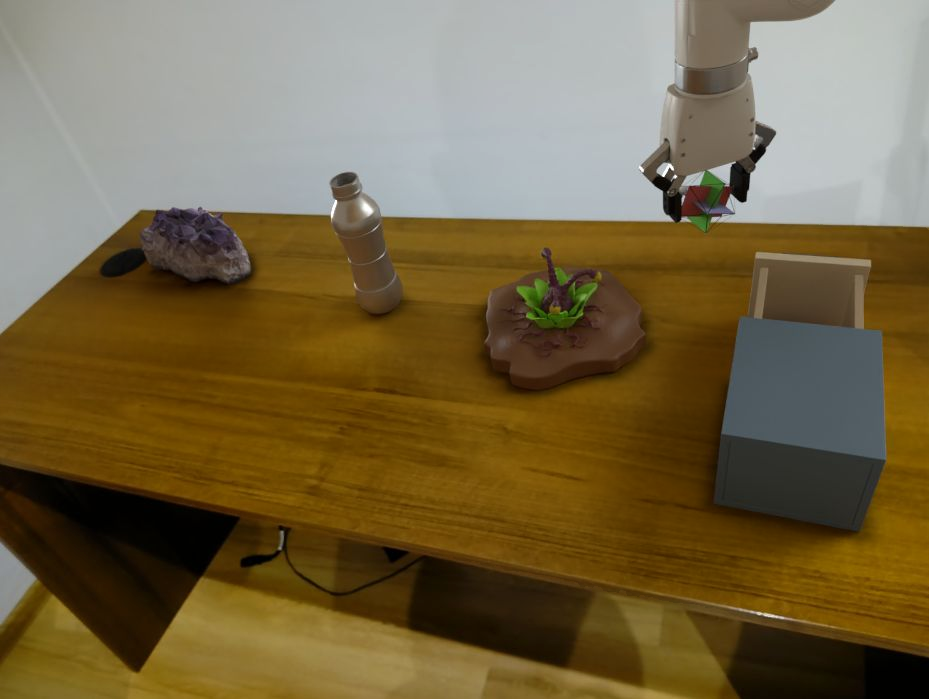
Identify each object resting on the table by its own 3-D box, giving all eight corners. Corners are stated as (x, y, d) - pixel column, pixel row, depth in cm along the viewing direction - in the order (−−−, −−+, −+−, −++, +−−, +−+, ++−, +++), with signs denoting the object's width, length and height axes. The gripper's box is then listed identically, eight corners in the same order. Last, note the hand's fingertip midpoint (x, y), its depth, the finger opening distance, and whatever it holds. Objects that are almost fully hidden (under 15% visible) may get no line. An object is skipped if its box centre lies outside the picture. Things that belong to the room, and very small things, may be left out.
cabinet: (731, 388, 79) (739, 316, 72) (859, 405, 75) (881, 330, 68) (713, 503, 69) (721, 433, 62) (860, 532, 65) (886, 460, 58)
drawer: (751, 288, 89) (759, 230, 83) (854, 298, 85) (870, 236, 79) (735, 398, 77) (743, 338, 71) (854, 415, 73) (873, 353, 67)
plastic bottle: (352, 315, 101) (306, 191, 87) (377, 286, 105) (337, 163, 91) (390, 324, 98) (349, 197, 84) (415, 293, 102) (379, 168, 88)
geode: (278, 250, 116) (251, 203, 109) (233, 301, 111) (202, 255, 103) (192, 227, 125) (162, 181, 118) (147, 272, 120) (112, 228, 112)
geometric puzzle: (726, 183, 93) (694, 150, 89) (759, 206, 88) (727, 173, 84) (686, 225, 96) (653, 196, 91) (716, 251, 91) (683, 221, 86)
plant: (612, 266, 98) (610, 196, 91) (664, 361, 84) (666, 287, 76) (471, 300, 98) (456, 232, 91) (498, 401, 84) (483, 331, 76)
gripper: (766, 38, 81) (754, 174, 93) (621, 81, 81) (628, 212, 93) (804, 60, 76) (787, 201, 88) (649, 106, 75) (652, 243, 87)
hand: (705, 206), depth 90 cm, fingers closed on geometric puzzle, 8 cm apart
